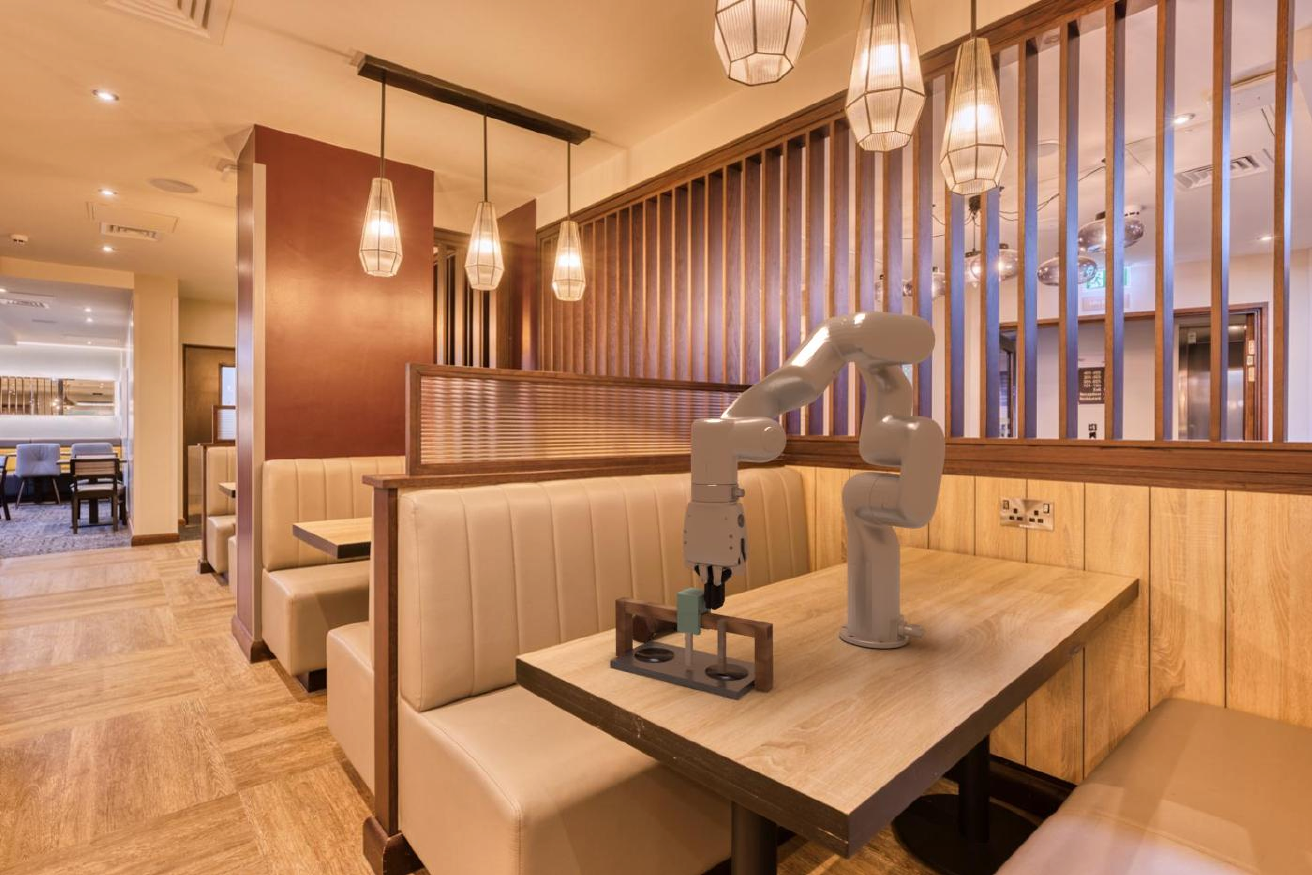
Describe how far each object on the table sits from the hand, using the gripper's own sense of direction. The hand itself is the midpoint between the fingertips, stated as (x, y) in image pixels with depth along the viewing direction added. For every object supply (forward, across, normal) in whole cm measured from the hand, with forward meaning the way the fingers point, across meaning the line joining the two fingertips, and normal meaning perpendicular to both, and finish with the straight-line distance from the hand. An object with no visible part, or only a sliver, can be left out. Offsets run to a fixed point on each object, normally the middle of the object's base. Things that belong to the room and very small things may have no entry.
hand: (714, 607), depth 106 cm
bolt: (+12, +19, -15) cm, 27 cm away
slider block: (+10, +4, 0) cm, 10 cm away
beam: (+11, +5, 0) cm, 12 cm away
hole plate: (+11, +5, 0) cm, 12 cm away
